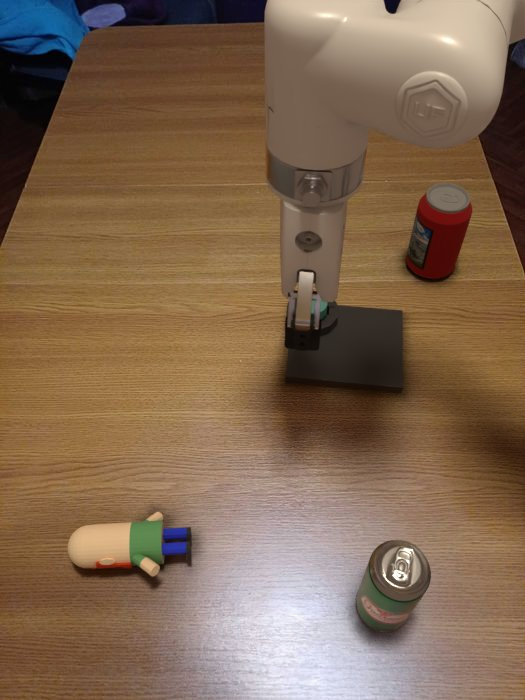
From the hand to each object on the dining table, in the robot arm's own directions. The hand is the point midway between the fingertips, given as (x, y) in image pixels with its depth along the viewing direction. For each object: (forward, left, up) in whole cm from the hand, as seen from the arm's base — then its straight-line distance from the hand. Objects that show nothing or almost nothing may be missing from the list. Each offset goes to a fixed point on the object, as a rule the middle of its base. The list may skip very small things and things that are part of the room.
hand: (305, 307), depth 60 cm
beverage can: (-16, -24, -17) cm, 33 cm away
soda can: (-10, +23, -17) cm, 30 cm away
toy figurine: (+15, +20, -17) cm, 30 cm away
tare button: (0, -11, -14) cm, 18 cm away
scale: (-5, -8, -16) cm, 19 cm away
